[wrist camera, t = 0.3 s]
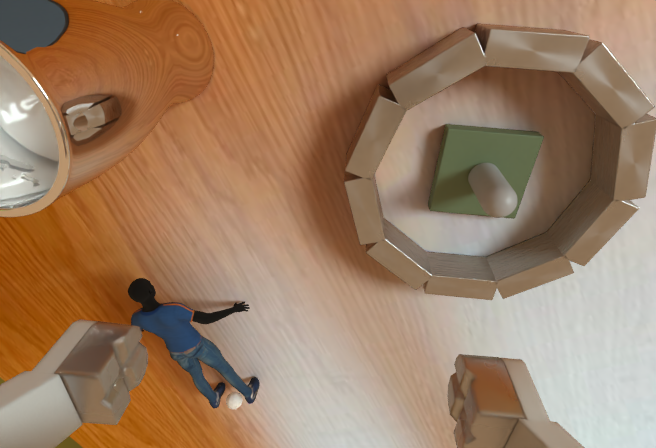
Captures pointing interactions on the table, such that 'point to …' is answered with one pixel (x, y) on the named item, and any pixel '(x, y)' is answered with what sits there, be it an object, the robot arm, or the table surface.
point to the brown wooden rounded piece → (87, 89)
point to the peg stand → (483, 170)
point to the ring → (581, 215)
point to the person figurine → (190, 342)
